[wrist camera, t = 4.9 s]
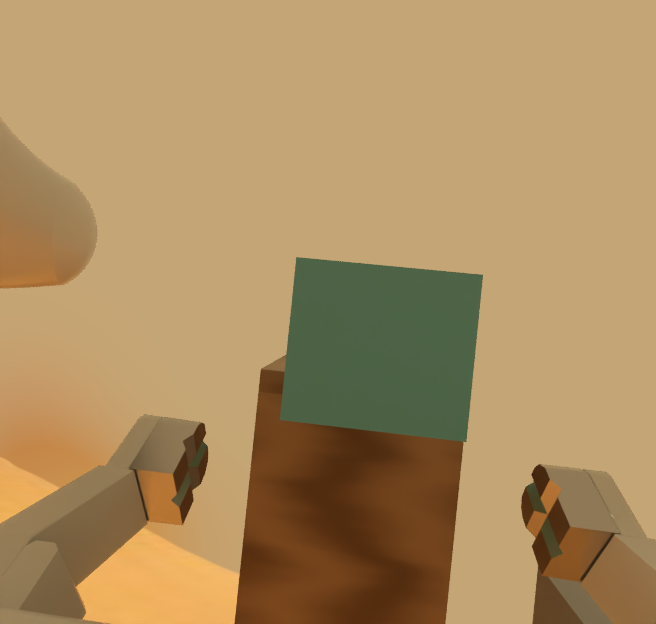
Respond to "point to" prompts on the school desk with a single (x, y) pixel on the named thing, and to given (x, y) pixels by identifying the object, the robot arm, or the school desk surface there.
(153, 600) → the school desk surface
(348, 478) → the bookcase block
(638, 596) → the robot arm
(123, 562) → the school desk surface
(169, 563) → the school desk surface
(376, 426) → the book
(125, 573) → the school desk surface
